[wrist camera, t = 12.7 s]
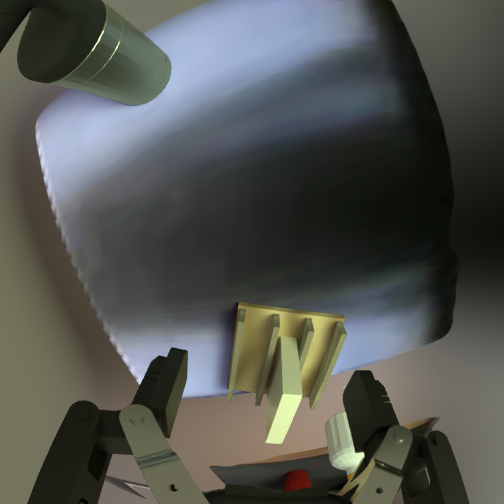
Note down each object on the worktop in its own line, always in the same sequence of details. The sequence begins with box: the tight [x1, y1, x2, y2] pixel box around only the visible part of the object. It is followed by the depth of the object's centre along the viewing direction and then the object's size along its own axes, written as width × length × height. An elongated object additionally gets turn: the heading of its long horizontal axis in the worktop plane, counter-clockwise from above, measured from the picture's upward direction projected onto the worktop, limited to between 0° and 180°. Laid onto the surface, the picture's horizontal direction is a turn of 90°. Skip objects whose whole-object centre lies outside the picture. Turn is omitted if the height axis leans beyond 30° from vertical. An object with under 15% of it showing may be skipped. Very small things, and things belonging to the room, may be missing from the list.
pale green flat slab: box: [265, 336, 303, 444], centre depth 37 cm, size 2×12×12 cm, turn 172°
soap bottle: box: [325, 411, 364, 480], centre depth 37 cm, size 9×9×25 cm
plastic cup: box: [284, 470, 312, 492], centre depth 52 cm, size 11×11×12 cm
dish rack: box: [227, 302, 347, 410], centre depth 41 cm, size 16×18×4 cm
